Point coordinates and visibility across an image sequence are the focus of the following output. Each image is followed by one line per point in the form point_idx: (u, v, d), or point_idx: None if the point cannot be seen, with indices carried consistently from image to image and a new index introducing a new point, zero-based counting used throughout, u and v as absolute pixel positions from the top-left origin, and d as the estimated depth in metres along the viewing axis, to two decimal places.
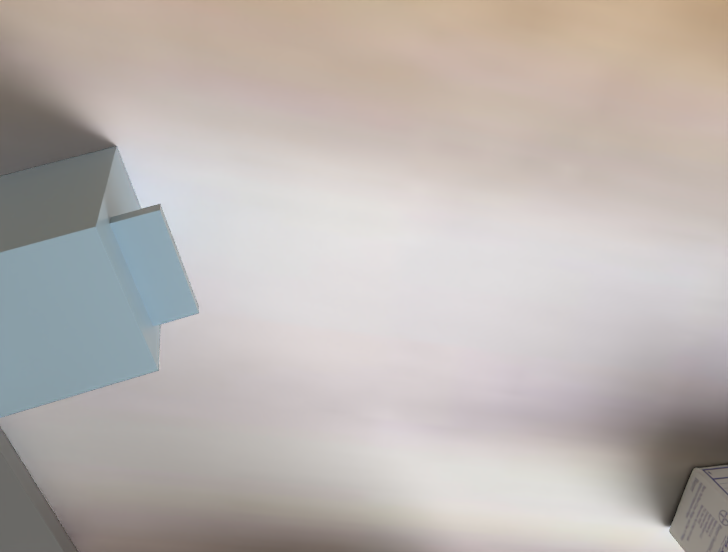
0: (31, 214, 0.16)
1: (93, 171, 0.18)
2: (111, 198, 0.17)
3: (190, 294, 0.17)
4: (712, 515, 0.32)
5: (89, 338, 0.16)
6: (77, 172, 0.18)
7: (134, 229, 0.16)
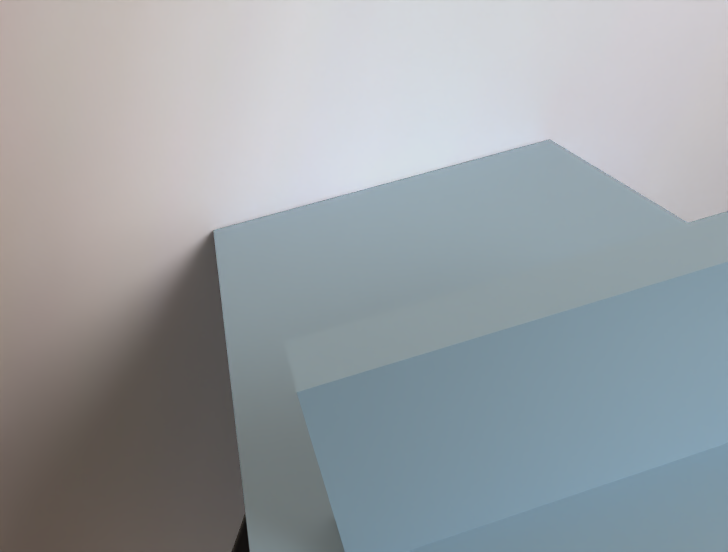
0: None
1: None
2: (286, 424, 0.05)
3: None
4: None
5: None
6: None
7: (392, 485, 0.03)
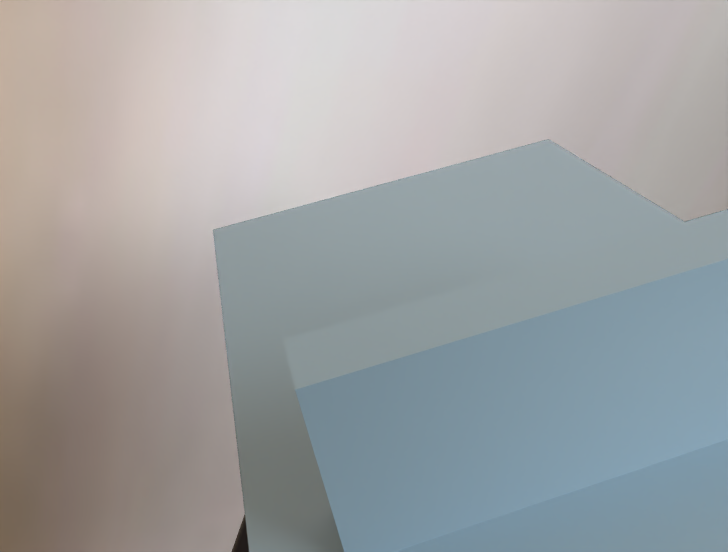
0: None
1: None
2: (285, 422, 0.05)
3: None
4: None
5: None
6: None
7: (390, 482, 0.03)
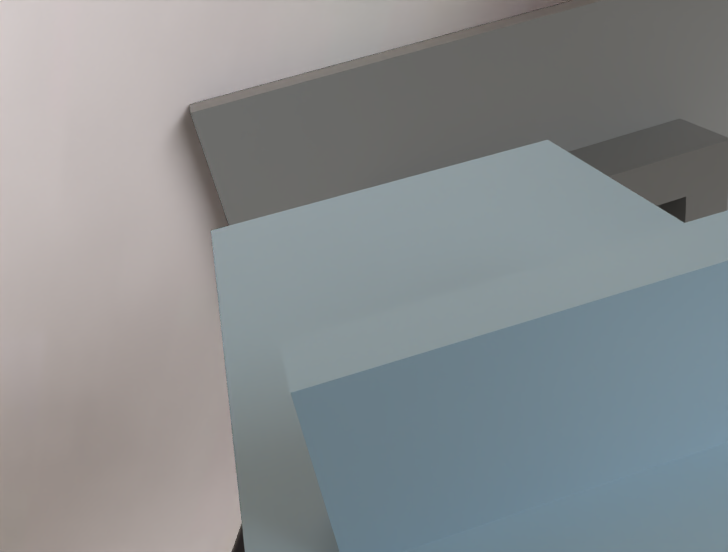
0: None
1: None
2: (282, 424, 0.05)
3: None
4: None
5: None
6: None
7: (387, 485, 0.03)
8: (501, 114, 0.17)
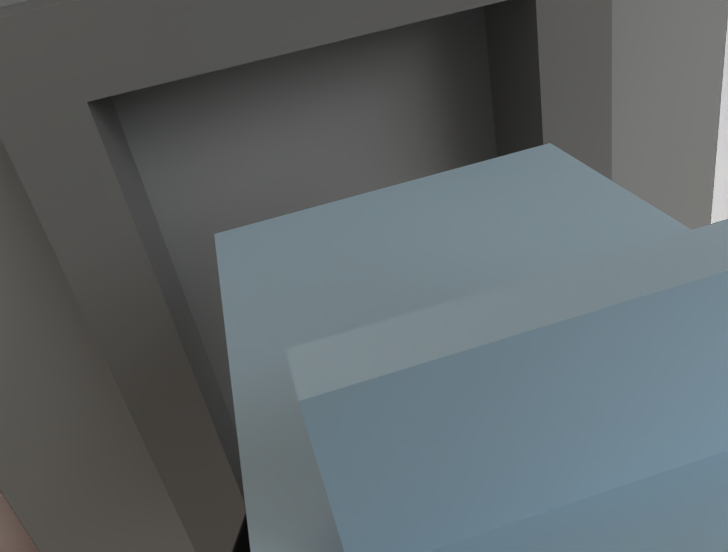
0: None
1: None
2: (287, 429, 0.05)
3: None
4: None
5: None
6: None
7: (393, 492, 0.03)
8: None
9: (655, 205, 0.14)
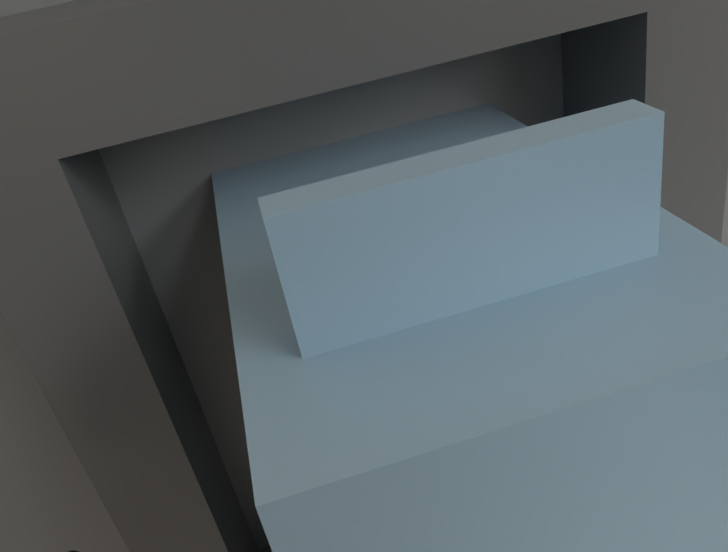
0: None
1: None
2: (263, 288, 0.06)
3: (589, 135, 0.05)
4: None
5: (648, 504, 0.05)
6: None
7: (328, 294, 0.05)
8: None
9: None
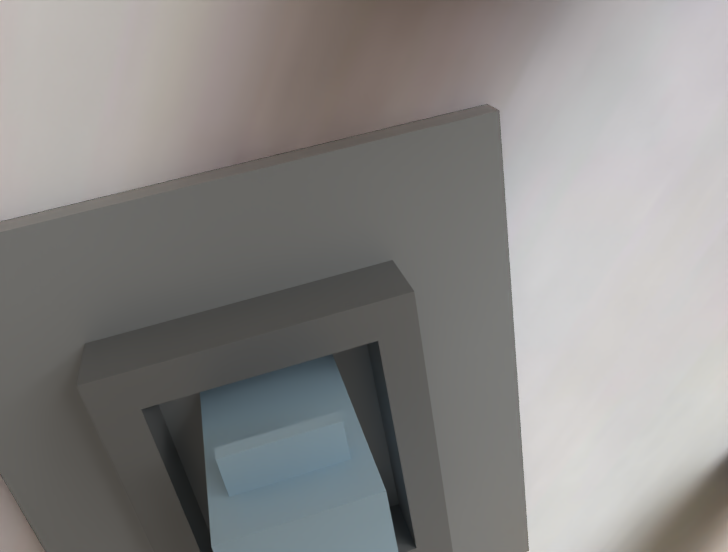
0: None
1: None
2: None
3: (318, 429, 0.16)
4: None
5: (335, 545, 0.16)
6: None
7: (237, 477, 0.16)
8: (206, 259, 0.18)
9: (480, 406, 0.23)
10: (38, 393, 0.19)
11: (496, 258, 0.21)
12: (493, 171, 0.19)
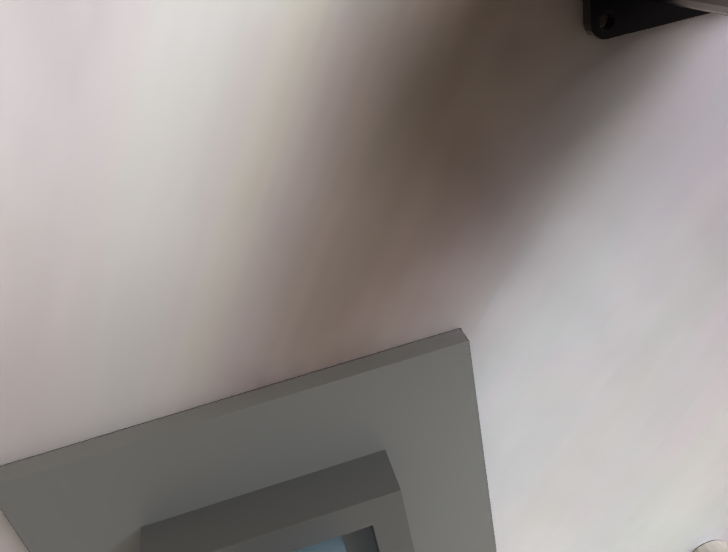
0: None
1: None
2: None
3: None
4: None
5: None
6: None
7: None
8: (235, 462, 0.23)
9: (462, 545, 0.28)
10: None
11: (471, 440, 0.25)
12: (466, 381, 0.24)
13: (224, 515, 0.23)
